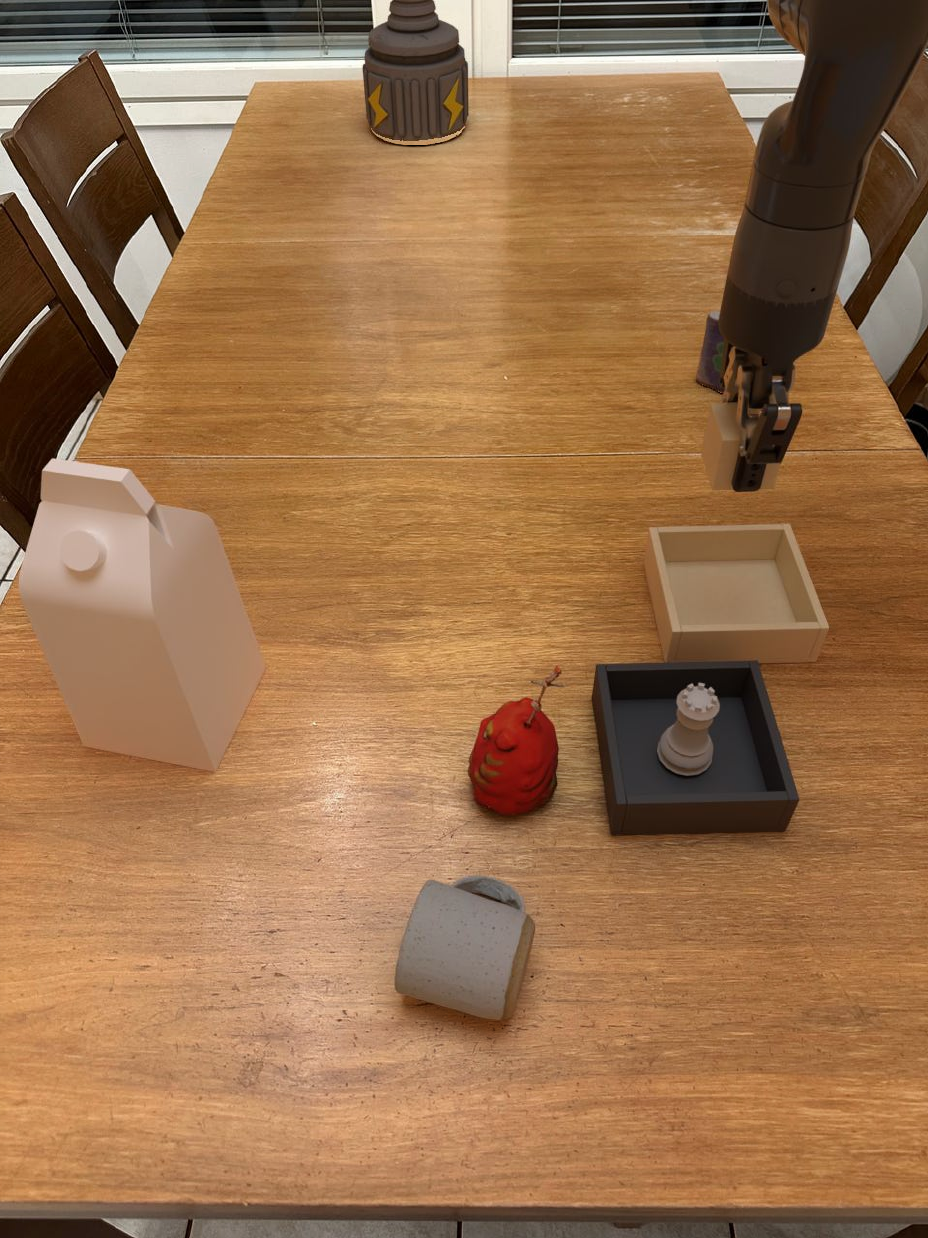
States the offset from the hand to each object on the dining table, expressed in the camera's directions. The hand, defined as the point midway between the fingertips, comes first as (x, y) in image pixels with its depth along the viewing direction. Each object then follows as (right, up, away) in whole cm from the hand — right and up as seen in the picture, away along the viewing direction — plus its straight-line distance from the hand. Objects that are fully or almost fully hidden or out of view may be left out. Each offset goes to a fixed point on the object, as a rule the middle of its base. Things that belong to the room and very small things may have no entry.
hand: (737, 466), depth 78 cm
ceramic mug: (-22, -37, -11) cm, 44 cm away
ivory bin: (+2, -12, +12) cm, 17 cm away
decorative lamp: (-31, +77, +95) cm, 126 cm away
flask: (+10, +15, +36) cm, 40 cm away
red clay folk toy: (-18, -26, -1) cm, 32 cm away
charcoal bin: (-4, -24, 0) cm, 25 cm away
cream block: (0, 0, 0) cm, 0 cm away
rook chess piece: (-4, -24, 0) cm, 24 cm away
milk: (-48, -20, +5) cm, 52 cm away
